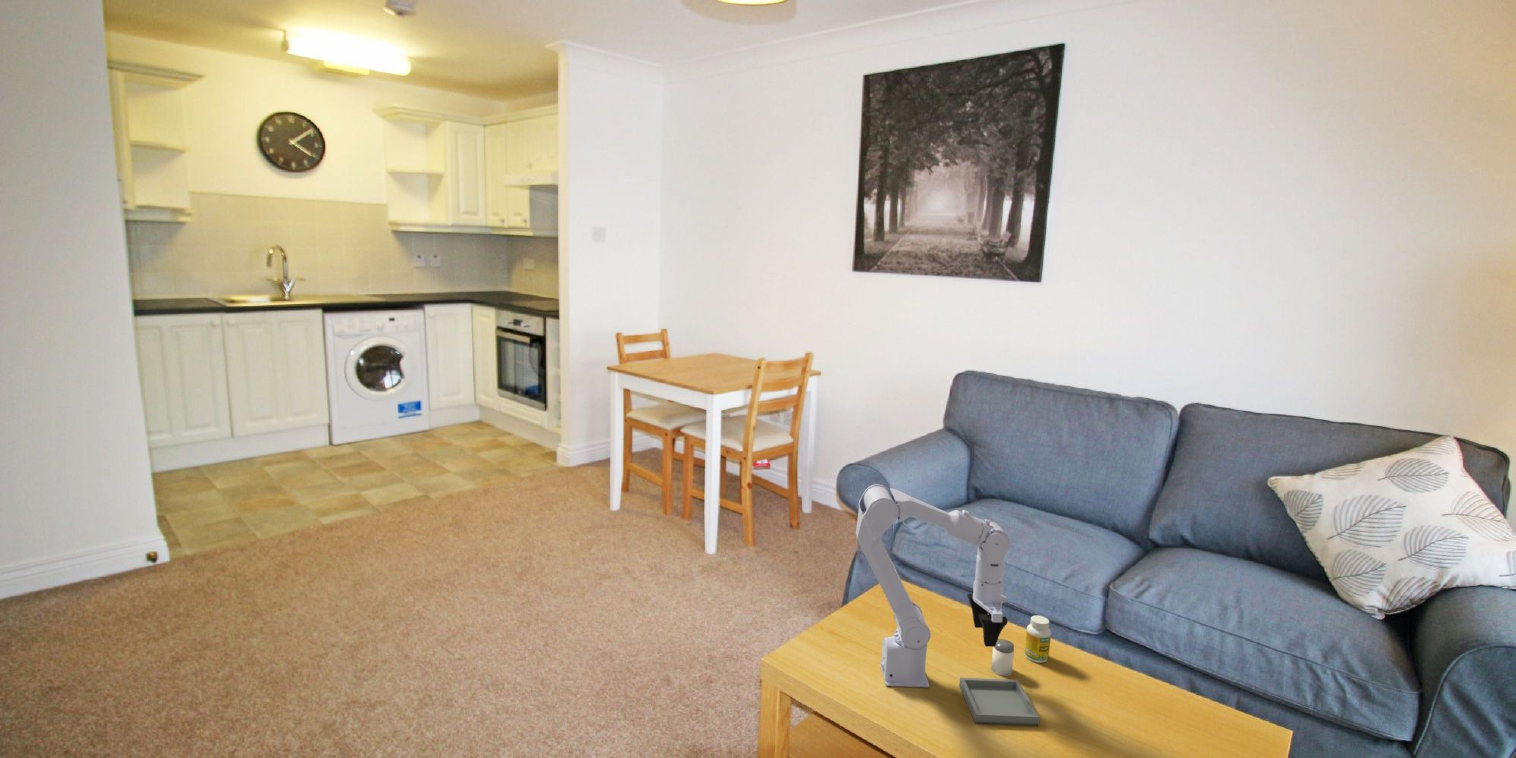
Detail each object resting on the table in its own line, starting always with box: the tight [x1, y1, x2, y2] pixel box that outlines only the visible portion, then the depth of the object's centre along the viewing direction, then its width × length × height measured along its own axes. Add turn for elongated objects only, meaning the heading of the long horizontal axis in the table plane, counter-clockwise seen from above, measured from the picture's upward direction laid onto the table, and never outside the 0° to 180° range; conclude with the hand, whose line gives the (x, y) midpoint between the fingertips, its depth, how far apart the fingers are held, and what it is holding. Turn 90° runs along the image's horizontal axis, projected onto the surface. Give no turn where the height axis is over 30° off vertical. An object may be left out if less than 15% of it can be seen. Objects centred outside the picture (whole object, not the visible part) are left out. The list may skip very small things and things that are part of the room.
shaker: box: [990, 638, 1015, 677], centre depth 163 cm, size 4×4×6 cm
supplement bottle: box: [1023, 614, 1052, 664], centre depth 169 cm, size 5×5×10 cm
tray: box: [958, 677, 1040, 727], centre depth 151 cm, size 13×13×2 cm
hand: (984, 636), depth 158 cm, fingers open, 7 cm apart
